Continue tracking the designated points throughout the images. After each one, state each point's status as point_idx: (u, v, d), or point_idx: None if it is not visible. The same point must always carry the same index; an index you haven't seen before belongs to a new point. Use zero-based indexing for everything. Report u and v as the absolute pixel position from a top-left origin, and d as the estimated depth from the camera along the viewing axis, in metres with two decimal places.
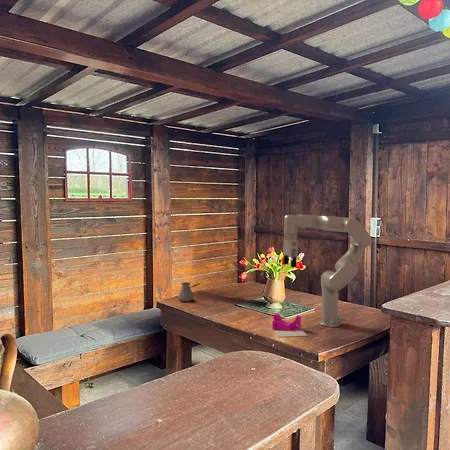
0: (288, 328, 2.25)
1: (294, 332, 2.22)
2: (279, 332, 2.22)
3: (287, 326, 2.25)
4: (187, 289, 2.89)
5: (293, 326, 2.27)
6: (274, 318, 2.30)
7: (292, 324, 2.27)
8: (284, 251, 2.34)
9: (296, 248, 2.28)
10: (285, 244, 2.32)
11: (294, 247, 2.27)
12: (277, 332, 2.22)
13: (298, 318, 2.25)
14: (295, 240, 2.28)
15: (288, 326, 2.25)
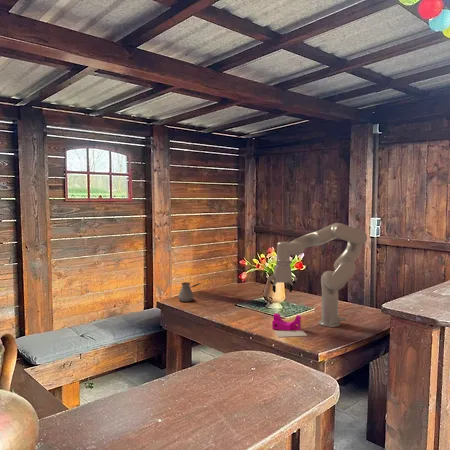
0: (288, 328, 2.25)
1: (294, 332, 2.22)
2: (279, 332, 2.22)
3: (287, 326, 2.25)
4: (187, 289, 2.89)
5: (293, 326, 2.27)
6: (274, 318, 2.30)
7: (292, 324, 2.27)
8: (279, 279, 2.32)
9: None
10: (282, 272, 2.32)
11: None
12: (277, 332, 2.22)
13: (298, 318, 2.25)
14: None
15: (288, 326, 2.25)
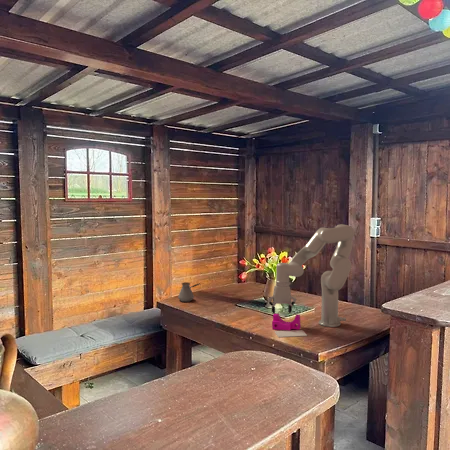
0: (288, 328, 2.25)
1: (294, 332, 2.22)
2: (279, 332, 2.22)
3: (287, 326, 2.25)
4: (187, 289, 2.89)
5: (293, 325, 2.26)
6: (274, 318, 2.30)
7: (292, 323, 2.27)
8: (278, 300, 2.33)
9: None
10: (281, 293, 2.33)
11: None
12: (277, 332, 2.22)
13: (297, 317, 2.25)
14: None
15: (288, 326, 2.25)
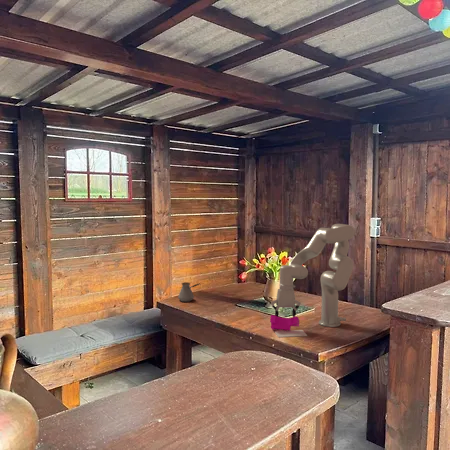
0: (288, 330, 2.24)
1: (294, 332, 2.22)
2: (279, 332, 2.22)
3: (286, 329, 2.23)
4: (187, 289, 2.89)
5: (292, 325, 2.24)
6: (271, 322, 2.24)
7: (291, 324, 2.23)
8: (282, 304, 2.25)
9: None
10: (285, 296, 2.25)
11: None
12: (277, 332, 2.22)
13: (296, 323, 2.19)
14: None
15: (287, 329, 2.23)
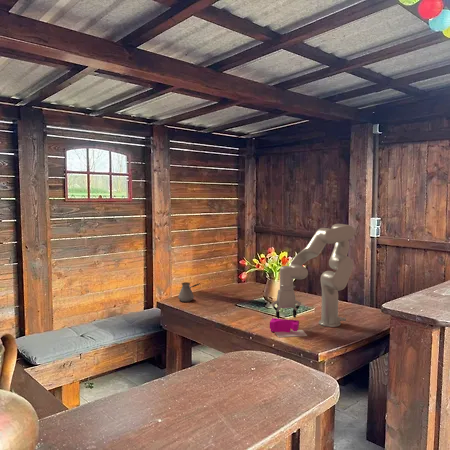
0: None
1: (294, 332, 2.22)
2: (279, 332, 2.22)
3: None
4: (187, 289, 2.89)
5: None
6: None
7: None
8: (282, 305, 2.26)
9: None
10: (285, 297, 2.26)
11: None
12: (277, 332, 2.22)
13: None
14: None
15: None
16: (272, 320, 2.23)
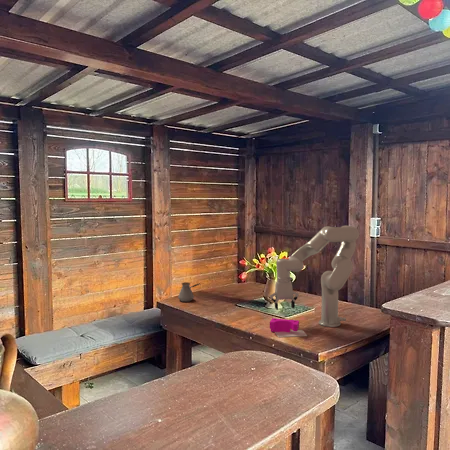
0: None
1: (294, 332, 2.22)
2: (279, 332, 2.22)
3: None
4: (187, 289, 2.89)
5: None
6: None
7: None
8: (280, 296, 2.33)
9: None
10: (283, 289, 2.32)
11: None
12: (277, 332, 2.22)
13: None
14: None
15: None
16: (272, 320, 2.23)
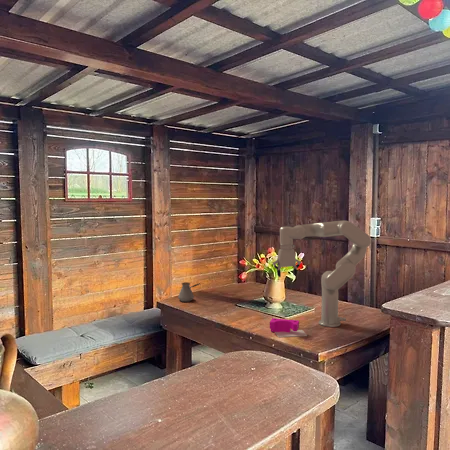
0: None
1: (294, 332, 2.22)
2: (279, 332, 2.22)
3: None
4: (187, 289, 2.89)
5: None
6: None
7: None
8: (283, 263, 2.35)
9: None
10: (286, 256, 2.35)
11: None
12: (277, 332, 2.22)
13: None
14: None
15: None
16: (272, 320, 2.23)
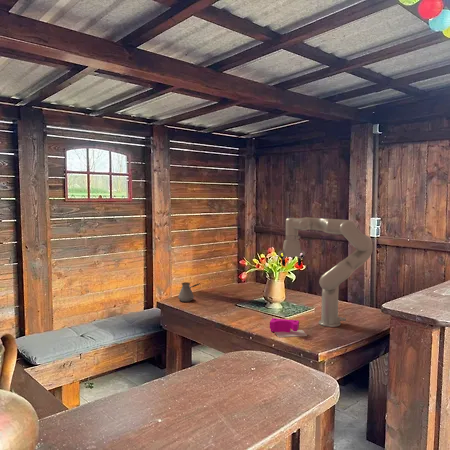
0: None
1: (294, 332, 2.22)
2: (279, 332, 2.22)
3: None
4: (187, 289, 2.89)
5: None
6: None
7: None
8: (288, 253, 2.42)
9: None
10: (291, 246, 2.42)
11: None
12: (277, 332, 2.22)
13: None
14: None
15: None
16: (272, 320, 2.23)
